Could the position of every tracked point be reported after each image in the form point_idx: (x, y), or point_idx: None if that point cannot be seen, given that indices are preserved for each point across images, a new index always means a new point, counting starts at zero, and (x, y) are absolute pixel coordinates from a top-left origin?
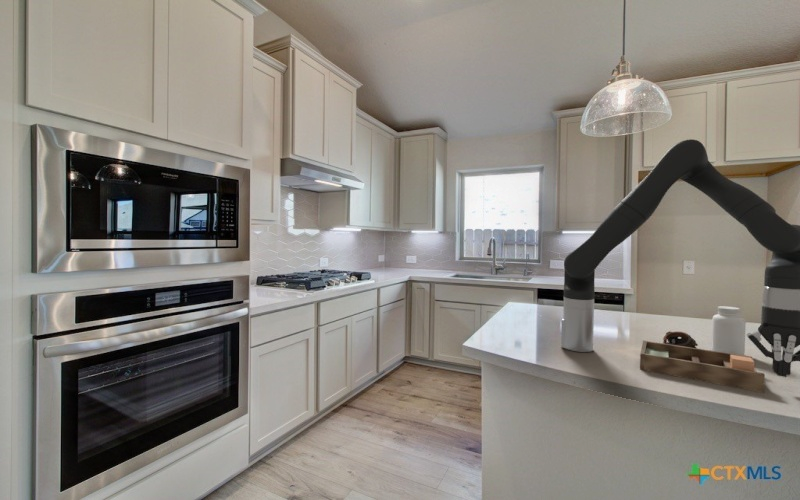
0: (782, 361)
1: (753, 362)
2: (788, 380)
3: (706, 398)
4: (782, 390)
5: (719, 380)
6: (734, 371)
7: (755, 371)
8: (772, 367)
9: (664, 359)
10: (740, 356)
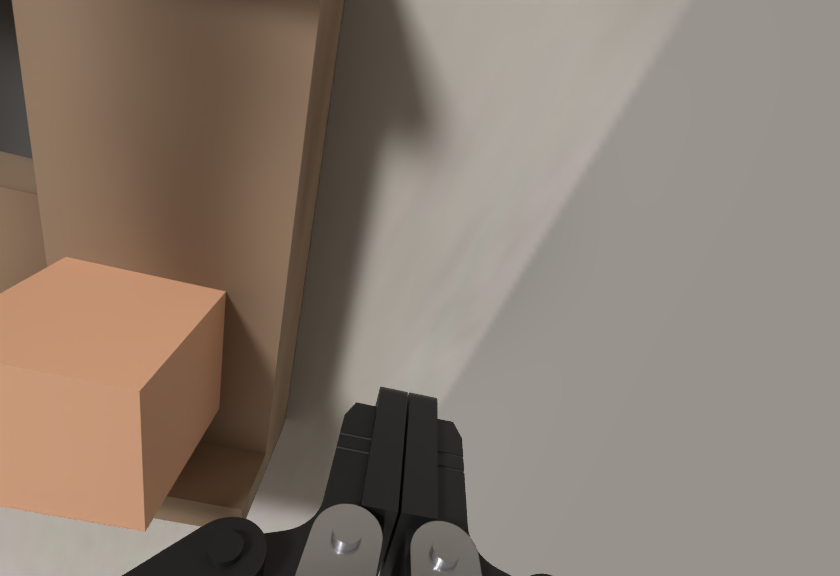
0: (384, 565)
1: (142, 523)
2: (625, 39)
3: (12, 570)
4: (419, 339)
5: None
6: None
7: (282, 225)
8: (341, 428)
9: None
10: (24, 384)
